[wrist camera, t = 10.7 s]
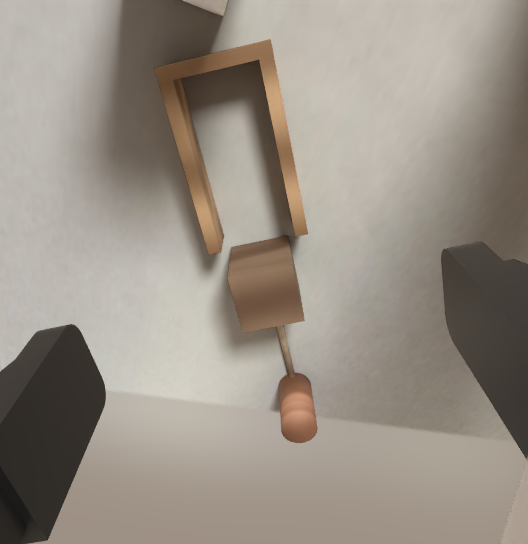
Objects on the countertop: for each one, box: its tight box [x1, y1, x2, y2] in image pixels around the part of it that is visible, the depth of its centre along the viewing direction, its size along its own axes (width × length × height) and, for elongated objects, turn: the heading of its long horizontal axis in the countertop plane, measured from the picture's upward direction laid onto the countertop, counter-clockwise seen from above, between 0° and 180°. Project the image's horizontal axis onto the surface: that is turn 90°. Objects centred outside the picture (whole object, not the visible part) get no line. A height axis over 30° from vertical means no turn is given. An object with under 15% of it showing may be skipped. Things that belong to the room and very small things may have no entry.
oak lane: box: [154, 40, 308, 255], centre depth 37 cm, size 14×8×4 cm, turn 12°
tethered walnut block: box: [227, 236, 317, 443], centre depth 43 cm, size 18×5×6 cm, turn 13°
